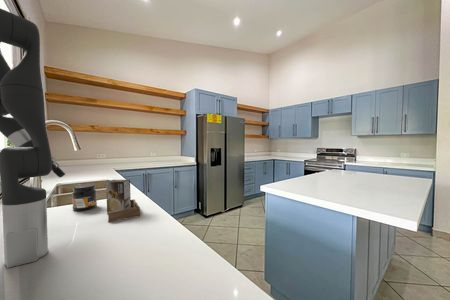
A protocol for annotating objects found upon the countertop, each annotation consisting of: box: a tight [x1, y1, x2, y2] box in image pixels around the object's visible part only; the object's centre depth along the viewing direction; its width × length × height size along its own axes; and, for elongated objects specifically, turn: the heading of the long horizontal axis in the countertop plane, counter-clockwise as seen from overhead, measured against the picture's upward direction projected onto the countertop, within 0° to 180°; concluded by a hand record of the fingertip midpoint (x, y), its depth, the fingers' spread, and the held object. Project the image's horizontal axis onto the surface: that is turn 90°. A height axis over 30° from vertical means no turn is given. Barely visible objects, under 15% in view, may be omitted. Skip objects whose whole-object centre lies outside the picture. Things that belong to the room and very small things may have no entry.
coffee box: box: [105, 179, 132, 215], centre depth 96 cm, size 9×6×16 cm
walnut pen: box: [107, 199, 141, 223], centre depth 94 cm, size 17×13×4 cm
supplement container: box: [71, 183, 98, 212], centre depth 102 cm, size 10×10×12 cm
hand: (62, 175), depth 80 cm, fingers closed
